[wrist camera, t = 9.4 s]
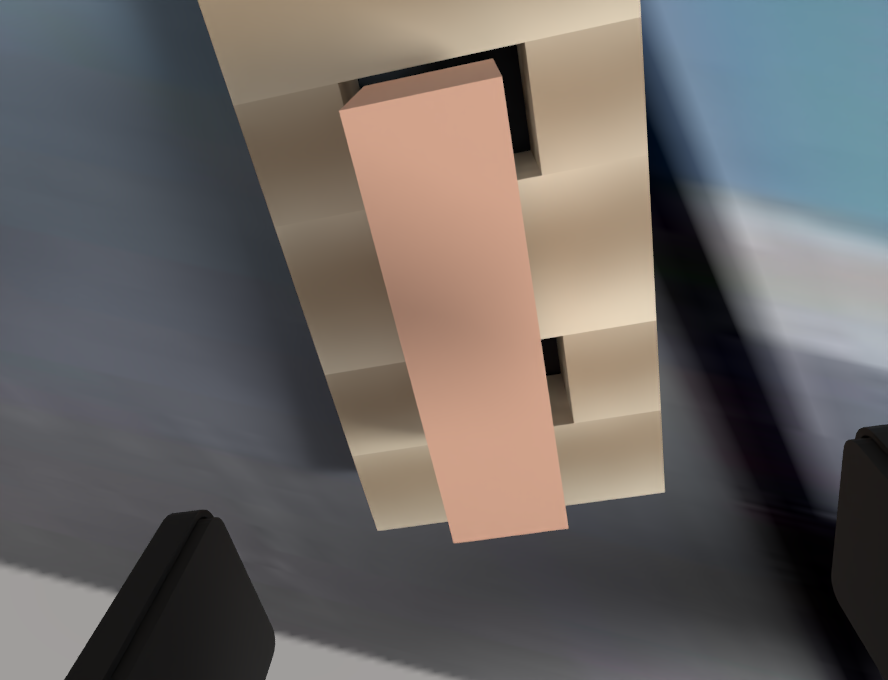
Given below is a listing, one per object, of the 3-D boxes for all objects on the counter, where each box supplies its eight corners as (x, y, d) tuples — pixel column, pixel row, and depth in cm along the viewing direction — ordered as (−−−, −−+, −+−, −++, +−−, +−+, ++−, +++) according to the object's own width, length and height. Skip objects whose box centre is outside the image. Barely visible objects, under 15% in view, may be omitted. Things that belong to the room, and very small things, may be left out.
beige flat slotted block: (642, 437, 24) (664, 492, 22) (386, 474, 25) (377, 530, 23) (603, -138, 16) (632, -164, 13) (223, -45, 17) (180, -51, 14)
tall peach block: (537, 375, 23) (568, 528, 16) (455, 388, 23) (453, 543, 17) (485, 45, 18) (501, 76, 11) (382, 68, 18) (338, 110, 12)
